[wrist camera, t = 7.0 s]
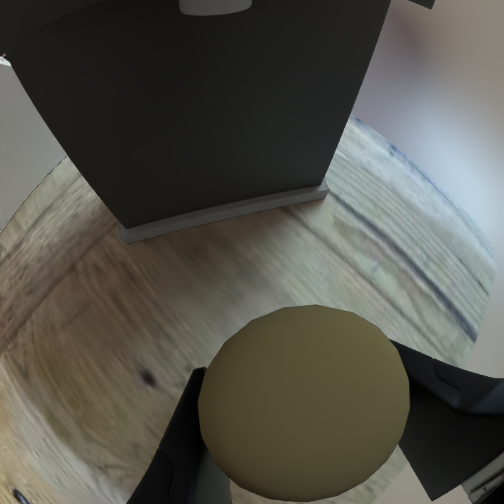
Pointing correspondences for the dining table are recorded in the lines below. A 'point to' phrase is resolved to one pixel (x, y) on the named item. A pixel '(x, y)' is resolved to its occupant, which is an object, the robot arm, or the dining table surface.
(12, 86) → the white house shaped block
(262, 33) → the coffee maker
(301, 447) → the cork
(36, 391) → the dining table surface
